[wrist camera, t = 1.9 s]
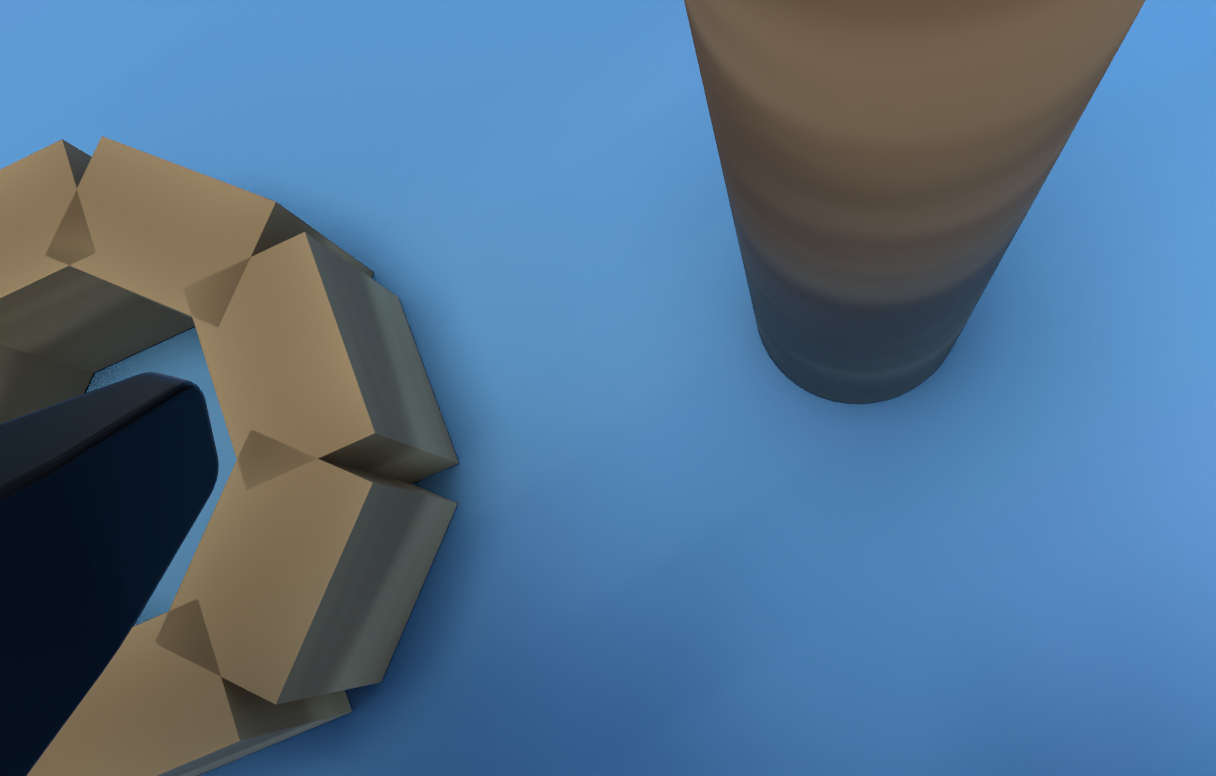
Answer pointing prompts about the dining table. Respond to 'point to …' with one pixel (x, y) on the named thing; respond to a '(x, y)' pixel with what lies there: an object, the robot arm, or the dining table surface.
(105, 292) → the tan segmented ring
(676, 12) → the dining table surface
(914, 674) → the dining table surface
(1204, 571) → the dining table surface
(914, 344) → the tall brown cylinder
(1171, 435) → the dining table surface
